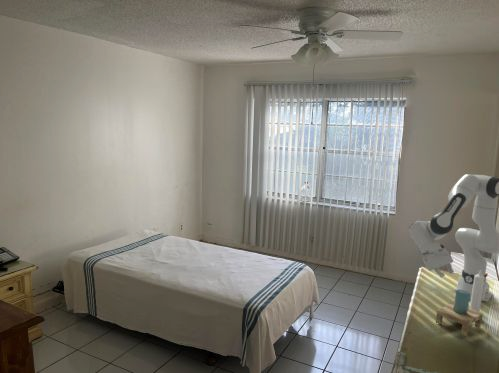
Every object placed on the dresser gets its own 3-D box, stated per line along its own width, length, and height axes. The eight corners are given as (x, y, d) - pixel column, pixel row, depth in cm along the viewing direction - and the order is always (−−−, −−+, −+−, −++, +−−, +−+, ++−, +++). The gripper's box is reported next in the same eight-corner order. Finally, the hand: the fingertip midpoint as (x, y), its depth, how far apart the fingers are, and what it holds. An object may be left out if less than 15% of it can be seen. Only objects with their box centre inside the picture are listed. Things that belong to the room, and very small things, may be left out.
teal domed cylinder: (456, 307, 189) (459, 288, 188) (469, 312, 185) (472, 293, 183) (450, 310, 186) (453, 291, 184) (463, 315, 181) (466, 296, 180)
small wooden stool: (451, 315, 197) (453, 302, 195) (480, 327, 186) (482, 313, 184) (435, 323, 187) (437, 309, 186) (465, 336, 176) (467, 322, 175)
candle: (483, 320, 192) (491, 273, 189) (468, 318, 194) (475, 271, 190) (478, 314, 199) (485, 268, 195) (463, 312, 201) (470, 267, 197)
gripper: (425, 250, 187) (442, 276, 181) (445, 244, 199) (462, 268, 193) (415, 256, 191) (432, 281, 185) (436, 250, 203) (452, 273, 197)
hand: (447, 274), depth 189 cm, fingers open, 8 cm apart
